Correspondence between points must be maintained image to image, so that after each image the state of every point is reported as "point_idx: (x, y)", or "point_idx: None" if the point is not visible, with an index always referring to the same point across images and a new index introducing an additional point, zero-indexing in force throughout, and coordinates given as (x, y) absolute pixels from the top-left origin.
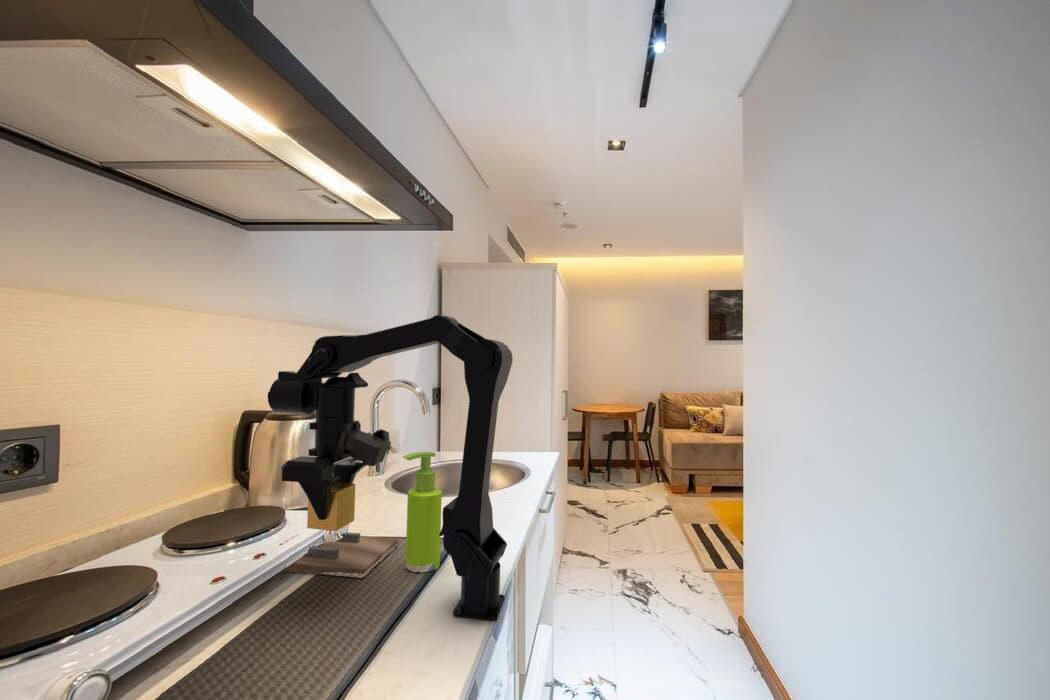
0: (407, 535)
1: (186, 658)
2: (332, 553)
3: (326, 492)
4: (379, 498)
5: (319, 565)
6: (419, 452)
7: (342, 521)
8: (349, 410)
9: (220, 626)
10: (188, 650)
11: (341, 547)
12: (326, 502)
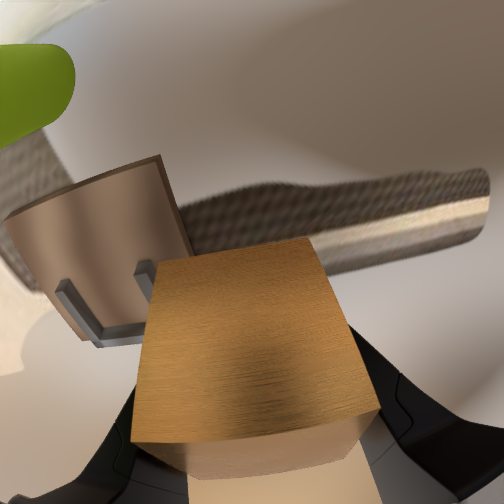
0: (17, 121)
1: (452, 224)
2: (150, 275)
3: (440, 404)
4: None
5: None
6: None
7: (263, 263)
8: None
9: (395, 250)
10: (440, 236)
11: (102, 289)
12: (388, 365)
